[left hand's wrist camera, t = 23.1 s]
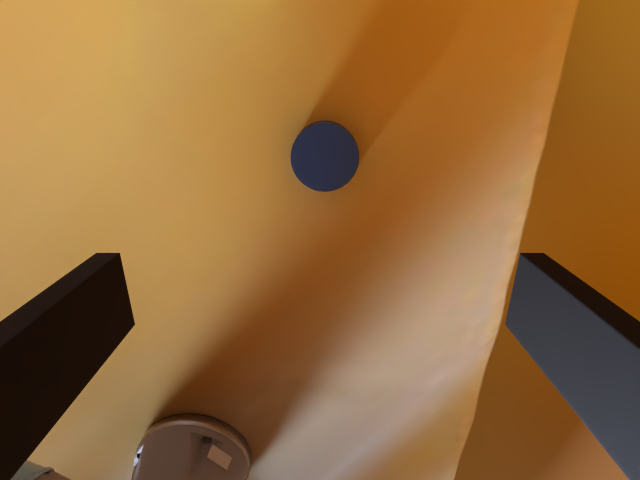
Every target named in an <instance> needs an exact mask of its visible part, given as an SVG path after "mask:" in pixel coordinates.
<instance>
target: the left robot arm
mask: <svg viewBox="0 0 640 480" xmlns="http://www.w3.org/2000/svg"><path fill="white" fill-rule="evenodd" d="M134 325H135V323H134V318H133V313H132V309H131V304H130V299H129V294H128V290H127V285H126V280H125V276H124V271H123V266H122V261H121V257H120V253H96V254H94V255H93V256H92V257H90V258H89V259H87V260H86V261H85V262H83V263H82V264H80V265H79V266H78V267H76V268H75V269H73V270H72V271H71V272H69V273H68V274H66V275H65V276H64V277H62V278H61V279H59V280H58V281H57V282H55V283H54V284H52V285H51V286H50V287H48V288H47V289H45V290H44V291H43V292H41V293H40V294H38V295H37V296H36V297H34V298H33V299H31V300H30V301H29V302H27V303H26V304H24V305H23V306H22V307H20V308H19V309H17V310H16V311H15V312H13V313H12V314H10V315H9V316H8V317H6V318H5V319H3V320H2V321H1V322H0V480H70V479H68V478H66V477H64V476H62V475H60V474H58V473H56V472H55V471H54V469H53V468H51V467H47V468H45V467H42V466H40V465H37V464H35V463H33V462H30V461H28V460H27V459H28V457H29V456H30V455H31V454H32V452H33V451H34V450H35V449H36V447H37V446H38V445H39V444H40V442H41V441H42V440H43V439H44V437H45V436H46V435H47V434H48V432H49V431H50V430H51V429H52V427H53V426H54V425H55V424H56V422H57V421H58V420H59V419H60V417H61V416H62V415H63V414H64V412H65V411H66V410H67V409H68V407H69V406H70V405H71V404H72V402H73V401H74V400H75V399H76V397H77V396H78V395H79V394H80V392H81V391H82V390H83V389H84V387H85V386H86V385H87V384H88V382H89V381H90V380H91V379H92V377H93V376H94V375H95V374H96V372H97V371H98V370H99V369H100V367H101V366H102V365H103V364H104V362H105V361H106V360H107V359H108V357H109V356H110V355H111V354H112V352H113V351H114V350H115V349H116V347H117V346H118V345H119V344H120V342H121V341H122V340H123V339H124V337H125V336H126V335H127V334H128V332H129V331H130V330H131V329H132V327H133V326H134ZM505 325H506V326H507V327H508V329H509V330H510V331H511V332H512V334H513V335H514V336H515V337H516V339H517V340H518V341H519V342H520V344H521V345H522V346H523V347H524V349H525V350H526V351H527V352H528V354H529V355H530V356H531V357H532V359H533V360H534V361H535V362H536V364H537V365H538V366H539V367H540V369H541V370H542V371H543V372H544V374H545V375H546V376H547V377H548V379H549V380H550V381H551V382H552V384H553V385H554V386H555V387H556V389H557V390H558V391H559V392H560V394H561V395H562V396H563V397H564V399H565V400H566V401H567V402H568V404H569V405H570V406H571V407H572V409H573V410H574V411H575V412H576V414H577V415H578V416H579V417H580V419H581V420H582V421H583V422H584V424H585V425H586V426H587V427H588V429H589V430H590V431H591V432H592V434H593V435H594V436H595V437H596V439H597V440H598V441H599V442H600V444H601V445H602V446H603V447H604V449H605V450H606V451H607V452H608V454H609V455H610V456H611V457H612V459H613V460H614V461H615V462H616V464H617V465H618V466H619V467H620V469H621V470H622V471H623V472H624V474H625V475H626V476H627V477H628V479H629V480H640V322H639V321H638V320H637V319H635V318H634V317H632V316H631V315H630V314H628V313H627V312H625V311H624V310H623V309H621V308H620V307H618V306H617V305H615V304H614V303H613V302H611V301H610V300H609V299H607V298H606V297H604V296H603V295H602V294H600V293H599V292H597V291H596V290H595V289H593V288H592V287H590V286H589V285H588V284H586V283H585V282H583V281H582V280H581V279H579V278H578V277H576V276H575V275H574V274H572V273H571V272H569V271H568V270H567V269H565V268H564V267H562V266H561V265H560V264H558V263H557V262H555V261H554V260H553V259H551V258H550V257H548V256H547V255H546V254H544V253H520V257H519V262H518V266H517V271H516V276H515V280H514V285H513V290H512V294H511V299H510V304H509V309H508V313H507V318H506V323H505ZM250 463H251V455H250V450H249V447H248V445H247V443H246V442H245V440H244V439H243V437H242V436H241V435H240V434H239V433H238V432H237V431H236V430H234V429H233V428H232V427H230V426H229V425H227V424H225V423H223V422H221V421H219V420H217V419H214V418H211V417H207V416H202V415H193V414H184V415H175V416H171V417H168V418H165V419H162V420H160V421H158V422H157V423H155V424H154V425H152V426H151V427H150V428H149V429H148V430H147V431H146V433H145V434H144V436H143V438H142V440H141V442H140V444H139V446H138V448H137V451H136V455H135V460H134V470H133V474H132V480H247V477H248V473H249V468H250Z"/></svg>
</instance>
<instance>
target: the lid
mask: <svg viewBox="0 0 640 480" xmlns="http://www.w3.org/2000/svg"><path fill="white" fill-rule="evenodd" d="M358 162H359V152H358V147H357V144H356V142H355V140H354V138H353V137H352V135H351V134H350V133H349V131H348V130H347V129H346V128H344V127H343V126H341V125H340V124H338V123H335V122H332V121H318V122H315V123H312V124H310V125H308V126H307V127H305V128H304V129H303V130H302V131H301V132H300V133H299V135H298V136H297V138H296V140H295V142H294V144H293V147H292V150H291V164H292V168H293V171H294V173H295V175H296V176H297V178H298V179H299V180H300V181H301V182H302V183H303V184H304V185H306V186H307V187H309V188H311V189H313V190H317V191H323V192H326V191H333V190H336V189H339V188H341V187H342V186H344V185H345V184H347V183H348V182H349V181H350V180H351V178H352V177H353V176H354V174H355V172H356V170H357V167H358Z"/></svg>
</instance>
